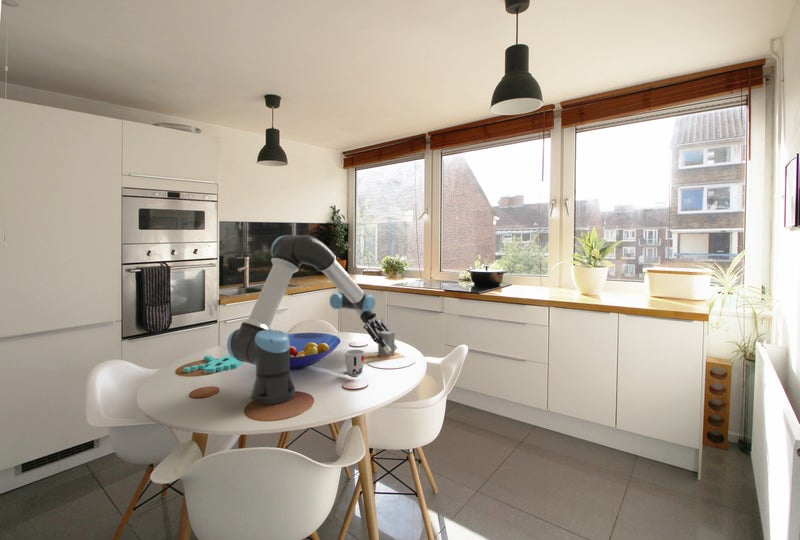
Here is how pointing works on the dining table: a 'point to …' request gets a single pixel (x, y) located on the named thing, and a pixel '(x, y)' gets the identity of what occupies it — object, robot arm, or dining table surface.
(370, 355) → the oak board
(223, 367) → the alien figure
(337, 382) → the dining table surface
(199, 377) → the dining table surface
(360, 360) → the cup
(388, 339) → the block
